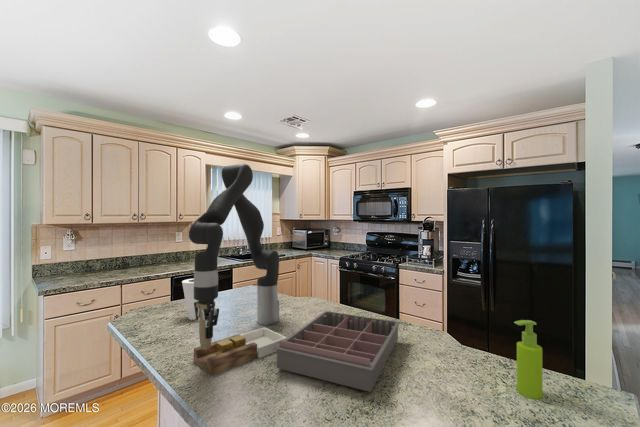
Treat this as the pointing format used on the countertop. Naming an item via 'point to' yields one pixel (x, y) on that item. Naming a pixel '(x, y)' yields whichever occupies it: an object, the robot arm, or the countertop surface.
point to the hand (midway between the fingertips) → (206, 335)
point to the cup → (189, 297)
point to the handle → (203, 328)
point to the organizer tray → (340, 349)
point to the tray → (264, 340)
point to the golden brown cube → (238, 341)
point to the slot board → (223, 357)
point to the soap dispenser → (529, 363)
